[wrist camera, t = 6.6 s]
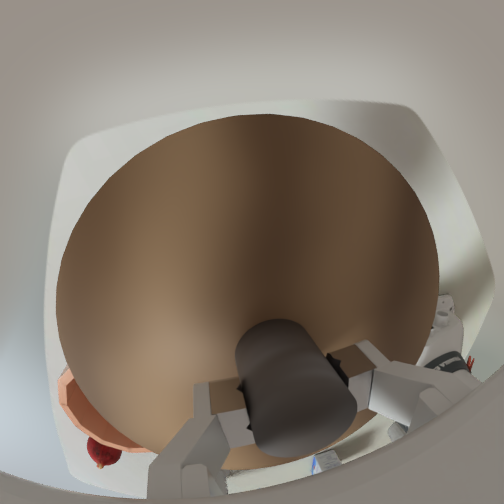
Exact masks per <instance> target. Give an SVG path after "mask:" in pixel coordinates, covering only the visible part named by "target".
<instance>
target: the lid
mask: <svg viewBox="0 0 504 504" xmlns="http://www.w3.org/2000/svg"><path fill="white" fill-rule="evenodd" d="M438 293H439V263H438V254H437V249H436V244H435V239H434V235H433V231H432V229H431V226H430V223H429V220H428V217H427V215H426V212H425V210H424V209H423V207H422V205H421V203H420V201H419V199H418V197H417V195H416V194H415V192H414V191H413V189H412V188H411V187H410V185H409V184H408V182H407V181H406V180H405V179H404V177H403V176H402V175H401V173H400V172H399V171H398V170H397V169H396V168H395V167H394V166H393V165H392V164H391V163H390V162H389V161H388V160H387V159H385V158H384V157H383V156H382V155H381V154H380V153H378V152H377V151H376V150H374V149H373V148H371V147H370V146H368V145H367V144H366V143H364V142H363V141H361V140H360V139H358V138H356V137H354V136H352V135H350V134H348V133H346V132H343V131H341V130H339V129H337V128H335V127H333V126H329V125H326V124H323V123H319V122H316V121H312V120H309V119H305V118H300V117H292V116H284V115H275V114H256V115H237V116H231V117H226V118H221V119H217V120H212V121H208V122H203V123H200V124H197V125H194V126H192V127H189V128H187V129H184V130H181V131H179V132H176V133H174V134H172V135H169V136H167V137H165V138H163V139H162V140H160V141H158V142H157V143H155V144H153V145H152V146H150V147H148V148H147V149H145V150H143V151H142V152H140V153H139V154H137V155H136V156H134V157H133V158H132V159H131V160H130V161H128V162H127V163H126V164H125V165H124V166H122V167H121V168H120V169H119V170H118V171H117V172H116V173H114V174H113V175H112V176H111V177H110V178H109V179H108V180H107V181H106V183H105V184H104V185H103V186H102V187H101V188H100V190H99V191H98V192H97V193H96V194H95V196H94V197H93V198H92V199H91V201H90V202H89V203H88V205H87V206H86V208H85V210H84V211H83V213H82V215H81V217H80V218H79V220H78V222H77V223H76V225H75V227H74V229H73V231H72V233H71V236H70V238H69V241H68V244H67V246H66V249H65V252H64V254H63V257H62V261H61V266H60V271H59V276H58V282H57V290H56V317H57V325H58V332H59V338H60V342H61V345H62V349H63V352H64V355H65V359H66V362H67V364H68V366H69V368H70V370H71V372H72V375H73V377H74V379H75V381H76V383H77V384H78V386H79V387H80V389H81V390H82V392H83V393H84V395H85V396H86V398H87V399H88V401H89V402H90V403H91V404H92V406H93V407H94V408H95V409H96V410H97V411H98V412H99V414H100V415H101V416H102V417H103V418H104V419H105V420H106V421H108V422H109V423H110V424H111V425H112V426H113V427H114V428H116V429H117V430H118V431H119V432H120V433H122V434H123V435H125V436H126V437H128V438H129V439H131V440H132V441H134V442H135V443H137V444H138V445H140V446H142V447H144V448H146V449H148V450H150V451H152V452H154V453H156V454H160V453H161V452H162V450H163V449H164V448H165V447H166V446H167V445H168V443H169V442H170V441H171V440H172V439H173V437H174V436H175V435H176V434H177V433H178V431H179V430H180V429H181V428H182V427H183V425H184V424H185V423H186V422H187V421H188V419H190V418H193V385H194V384H195V383H202V382H209V381H213V380H220V379H225V378H231V377H237V376H239V379H240V383H241V387H242V391H243V395H244V400H245V403H246V407H247V411H248V415H249V419H250V425H251V428H252V432H253V436H254V440H255V443H254V444H250V445H245V446H241V447H236V448H231V449H230V452H229V454H228V456H227V458H226V460H225V462H224V464H223V466H222V468H221V469H225V470H244V469H257V468H265V467H272V466H276V465H281V464H285V463H289V462H293V461H296V460H299V459H302V458H305V457H308V456H310V455H313V454H315V453H317V452H320V451H322V450H324V449H326V448H328V447H330V446H332V445H334V444H336V443H338V442H339V441H341V440H343V439H345V438H346V437H348V436H349V435H351V434H352V433H354V432H355V431H357V430H358V429H359V428H361V427H362V426H363V425H365V424H366V423H367V422H368V421H369V420H371V419H372V418H373V417H374V416H375V415H376V414H377V412H374V411H372V410H370V409H368V408H366V409H364V410H361V411H359V412H357V407H358V406H357V401H356V399H355V397H354V396H353V395H352V393H351V392H350V390H349V389H348V388H347V386H346V385H345V384H344V382H343V381H342V379H341V378H340V377H339V375H338V374H337V372H336V371H335V370H334V368H333V367H332V366H331V364H330V363H329V361H328V360H327V359H326V355H327V353H329V352H332V351H335V350H338V349H341V348H344V347H347V346H350V345H353V344H354V343H357V342H360V341H362V340H368V341H369V342H370V343H371V344H372V345H373V346H375V347H376V348H377V349H378V350H379V351H380V352H381V353H382V354H383V355H384V356H385V357H386V358H387V359H388V360H389V361H390V362H392V361H398V362H402V363H407V364H411V365H416V364H417V362H418V360H419V358H420V356H421V354H422V352H423V350H424V347H425V345H426V343H427V340H428V338H429V335H430V332H431V328H432V325H433V321H434V318H435V313H436V307H437V302H438Z"/></svg>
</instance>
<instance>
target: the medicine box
mask: <svg viewBox="0 0 504 504" xmlns="http://www.w3.org/2000/svg"><path fill="white" fill-rule="evenodd" d="M340 465H342V463H341V461H340V460H339V458H338V456H337V454H336V452H335V451H334V450H330V451H327V452H324V453H320V454H317V455H314V460H313V466H312V475H314V474H317V473H320V472H323V471H326V470H329V469H332V468H334V467H337V466H340Z"/></svg>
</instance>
